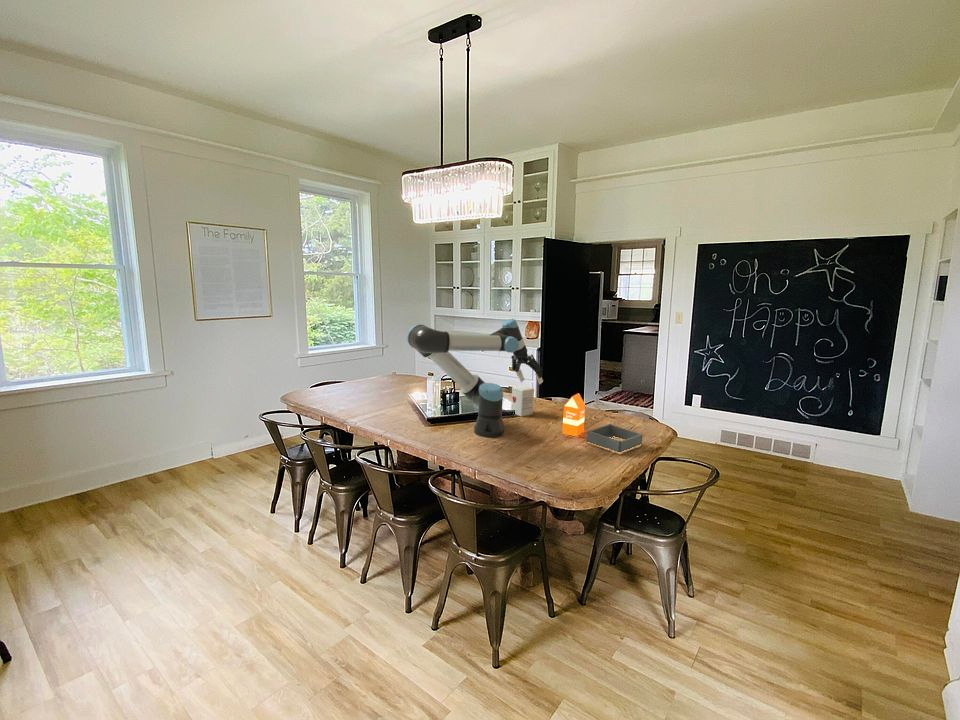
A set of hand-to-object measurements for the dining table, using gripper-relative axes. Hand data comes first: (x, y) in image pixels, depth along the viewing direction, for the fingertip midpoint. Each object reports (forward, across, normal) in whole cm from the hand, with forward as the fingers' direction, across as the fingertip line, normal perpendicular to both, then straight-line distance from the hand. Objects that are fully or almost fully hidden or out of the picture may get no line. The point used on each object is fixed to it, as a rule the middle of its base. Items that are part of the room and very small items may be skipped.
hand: (531, 382), depth 243 cm
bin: (+26, -48, +8) cm, 55 cm away
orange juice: (+22, -27, +11) cm, 36 cm away
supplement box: (+18, +11, +6) cm, 22 cm away
